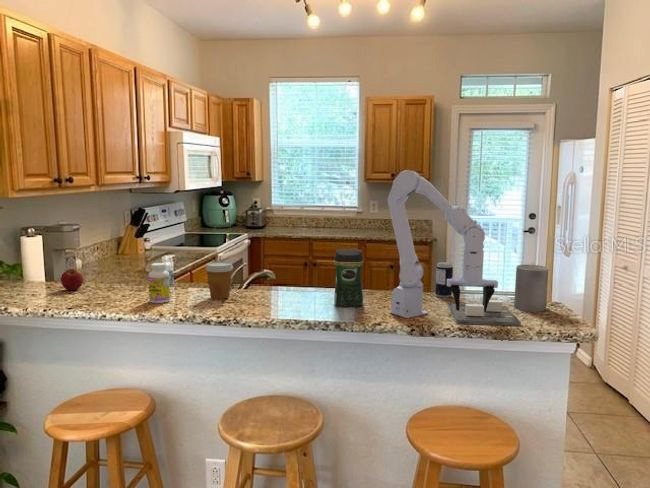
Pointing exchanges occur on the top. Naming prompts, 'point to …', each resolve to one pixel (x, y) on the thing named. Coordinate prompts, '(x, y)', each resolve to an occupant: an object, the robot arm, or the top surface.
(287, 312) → the top surface
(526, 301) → the pillar candle
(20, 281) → the top surface
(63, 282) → the apple
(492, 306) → the handle middle
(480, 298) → the handle far
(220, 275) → the disposable coffee cup
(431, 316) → the top surface
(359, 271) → the coffee jar
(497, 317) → the breaker panel
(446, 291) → the beverage can
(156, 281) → the supplement bottle
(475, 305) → the handle
